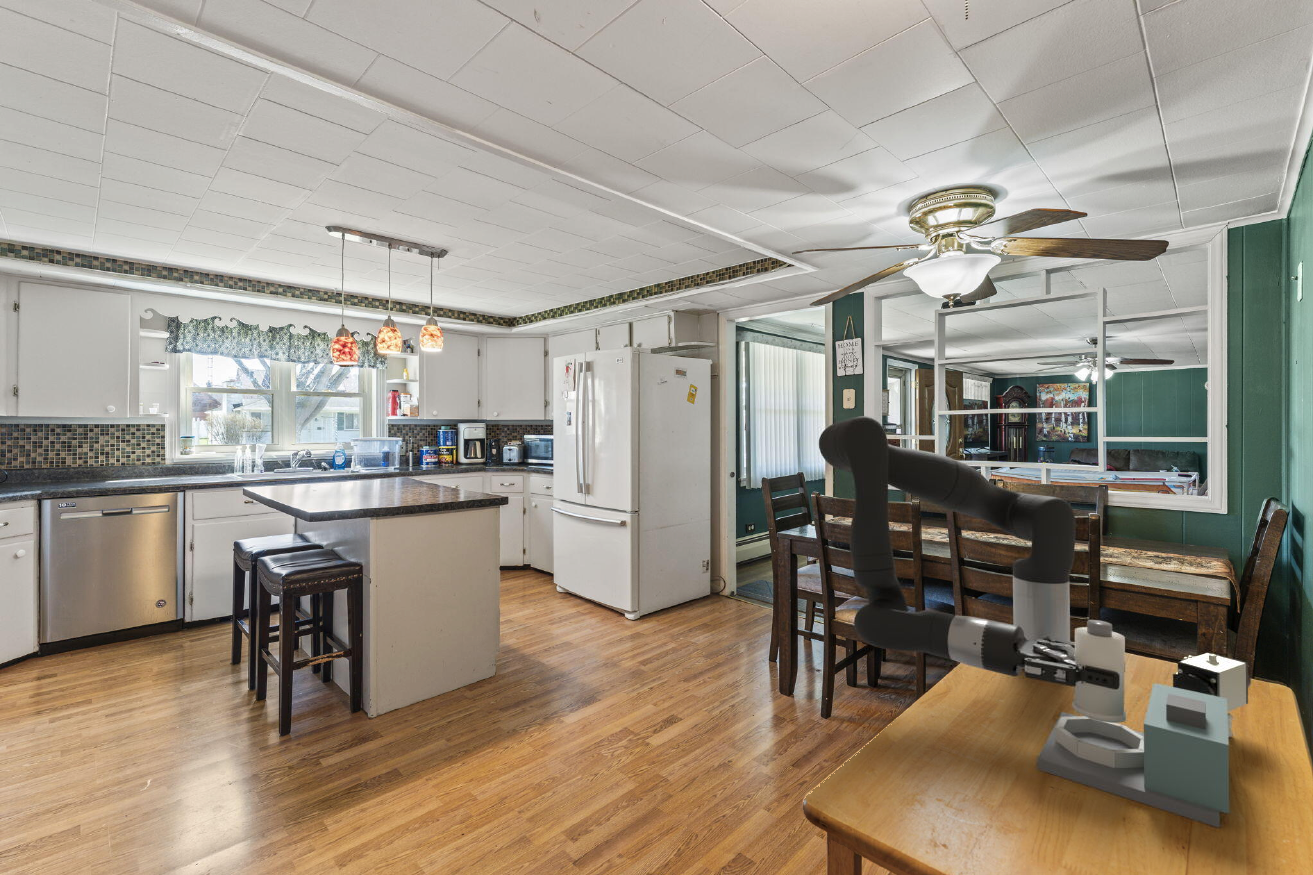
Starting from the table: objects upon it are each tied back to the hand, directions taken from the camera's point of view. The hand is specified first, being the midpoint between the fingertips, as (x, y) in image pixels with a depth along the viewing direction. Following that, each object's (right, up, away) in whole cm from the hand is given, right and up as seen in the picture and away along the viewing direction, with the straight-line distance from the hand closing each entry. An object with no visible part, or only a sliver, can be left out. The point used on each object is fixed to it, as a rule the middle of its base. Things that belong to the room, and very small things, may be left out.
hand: (1121, 674), depth 82 cm
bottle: (-2, -6, +2) cm, 7 cm away
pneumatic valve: (+20, -12, +8) cm, 25 cm away
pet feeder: (+1, -12, 0) cm, 13 cm away
